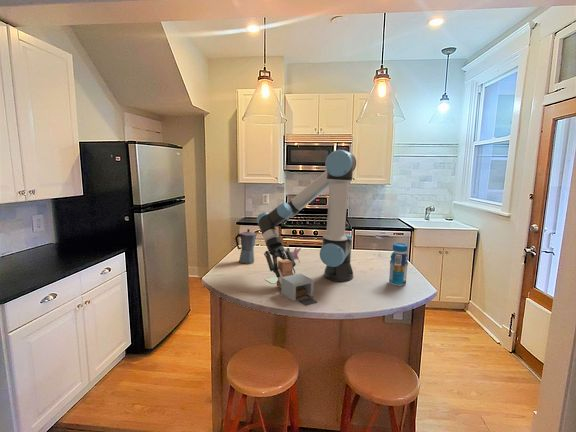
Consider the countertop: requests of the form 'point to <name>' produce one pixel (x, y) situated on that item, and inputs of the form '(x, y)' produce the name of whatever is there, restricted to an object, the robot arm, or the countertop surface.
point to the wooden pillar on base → (286, 270)
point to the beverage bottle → (398, 264)
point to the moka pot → (246, 246)
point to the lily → (295, 253)
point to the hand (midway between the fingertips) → (289, 281)
